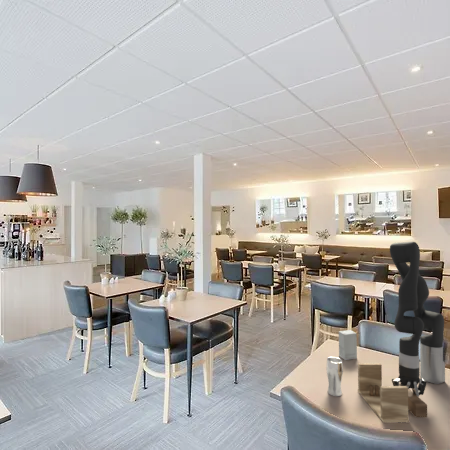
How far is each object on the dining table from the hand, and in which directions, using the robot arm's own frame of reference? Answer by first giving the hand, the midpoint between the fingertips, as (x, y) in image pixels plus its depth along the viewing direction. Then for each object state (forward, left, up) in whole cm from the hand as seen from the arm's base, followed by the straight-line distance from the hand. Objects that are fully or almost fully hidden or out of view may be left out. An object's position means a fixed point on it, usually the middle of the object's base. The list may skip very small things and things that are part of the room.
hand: (409, 403), depth 127 cm
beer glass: (+28, -10, -1) cm, 30 cm away
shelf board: (0, 0, -1) cm, 1 cm away
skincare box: (+7, -46, -1) cm, 47 cm away
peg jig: (+12, 0, -1) cm, 12 cm away
